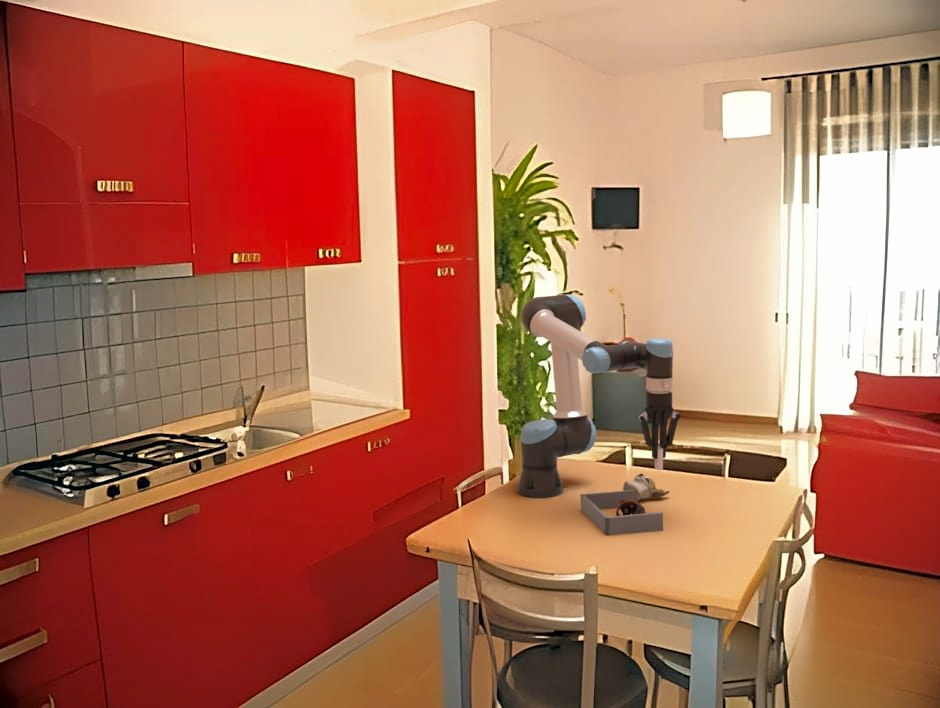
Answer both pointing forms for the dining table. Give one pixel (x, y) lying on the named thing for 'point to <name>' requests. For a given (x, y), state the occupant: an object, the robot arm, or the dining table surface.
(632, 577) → the dining table surface
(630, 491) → the walled box
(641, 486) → the ceramic sculpture
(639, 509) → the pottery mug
